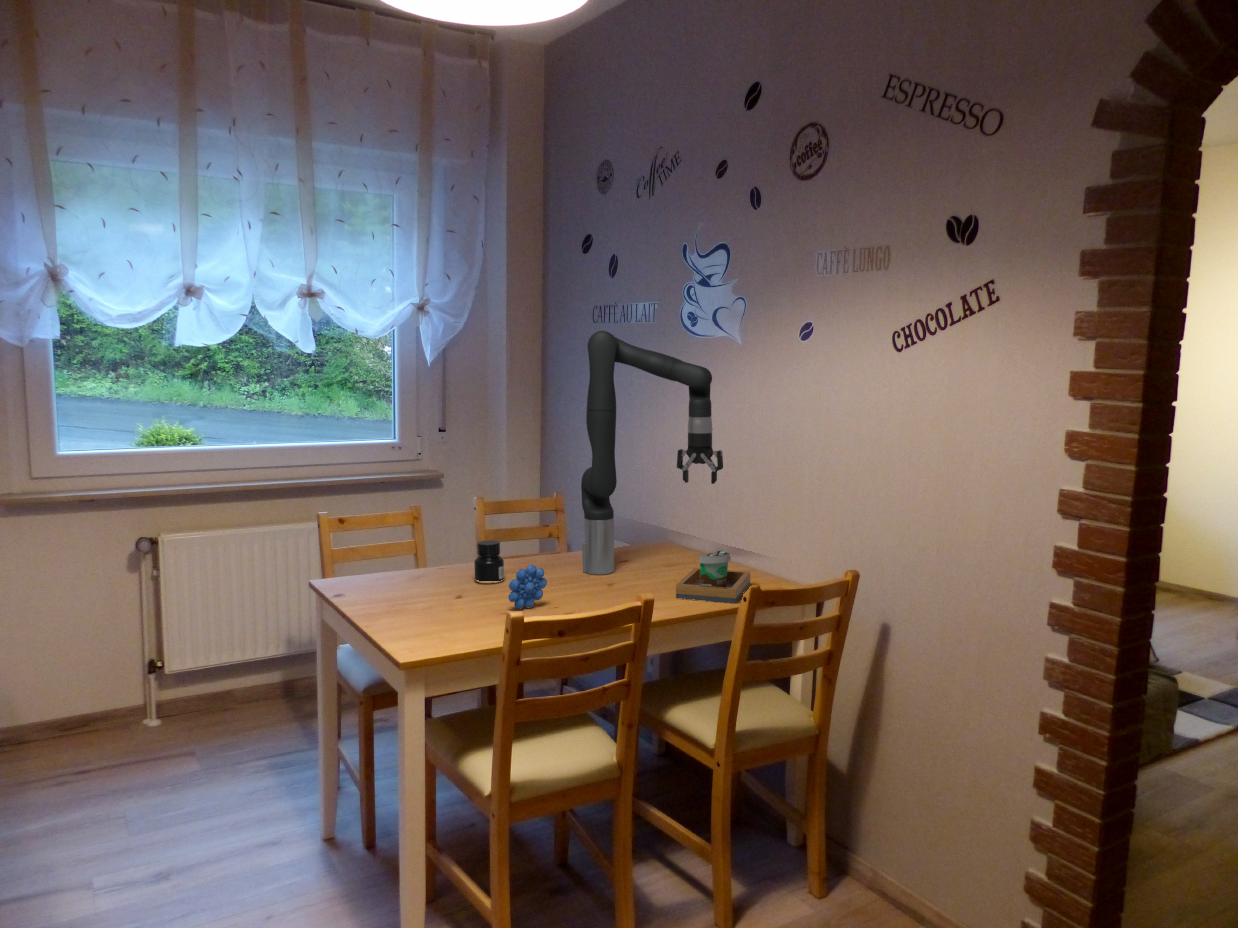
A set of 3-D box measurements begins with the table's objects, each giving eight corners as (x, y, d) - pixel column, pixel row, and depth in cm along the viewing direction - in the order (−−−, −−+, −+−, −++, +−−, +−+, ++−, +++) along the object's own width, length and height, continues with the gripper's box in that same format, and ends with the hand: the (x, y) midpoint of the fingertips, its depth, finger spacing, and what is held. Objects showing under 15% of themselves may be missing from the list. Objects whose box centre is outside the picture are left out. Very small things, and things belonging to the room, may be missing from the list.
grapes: (539, 601, 255) (538, 559, 253) (551, 606, 249) (550, 563, 248) (501, 608, 249) (500, 564, 247) (513, 613, 243) (512, 569, 242)
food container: (718, 593, 256) (718, 558, 255) (698, 590, 259) (698, 555, 258) (737, 583, 266) (737, 550, 265) (718, 580, 270) (718, 547, 268)
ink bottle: (508, 582, 276) (507, 543, 274) (480, 586, 272) (479, 546, 270) (498, 575, 284) (497, 538, 283) (470, 579, 280) (469, 540, 279)
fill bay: (675, 598, 256) (675, 584, 256) (694, 580, 276) (694, 567, 276) (735, 603, 251) (735, 589, 250) (750, 584, 271) (750, 571, 270)
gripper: (674, 431, 282) (674, 483, 284) (719, 432, 277) (719, 485, 279) (680, 429, 289) (680, 480, 291) (725, 430, 284) (724, 482, 286)
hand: (699, 482), depth 285 cm, fingers open, 8 cm apart
